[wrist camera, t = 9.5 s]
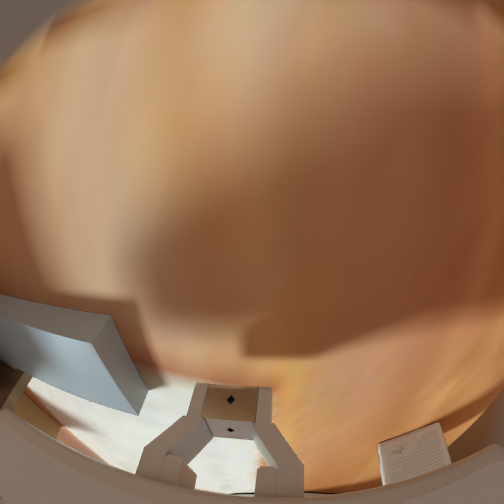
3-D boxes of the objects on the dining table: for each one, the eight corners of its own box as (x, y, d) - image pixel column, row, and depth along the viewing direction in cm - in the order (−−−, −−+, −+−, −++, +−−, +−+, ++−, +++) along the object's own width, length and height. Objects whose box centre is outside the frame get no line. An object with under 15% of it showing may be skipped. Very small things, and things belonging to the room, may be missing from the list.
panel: (115, 308, 11) (91, 343, 9) (150, 384, 14) (138, 415, 12) (-34, 280, 13) (-49, 294, 11) (-8, 331, 16) (-20, 345, 14)
